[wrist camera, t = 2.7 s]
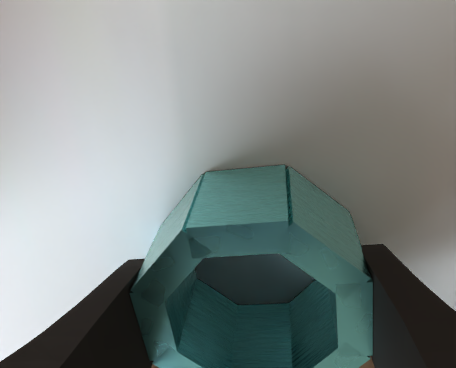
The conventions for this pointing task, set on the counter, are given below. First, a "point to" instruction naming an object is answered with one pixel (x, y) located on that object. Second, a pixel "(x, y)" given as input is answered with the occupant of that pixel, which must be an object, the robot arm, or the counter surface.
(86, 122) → the counter surface
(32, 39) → the counter surface
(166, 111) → the counter surface
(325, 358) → the ring
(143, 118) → the counter surface
